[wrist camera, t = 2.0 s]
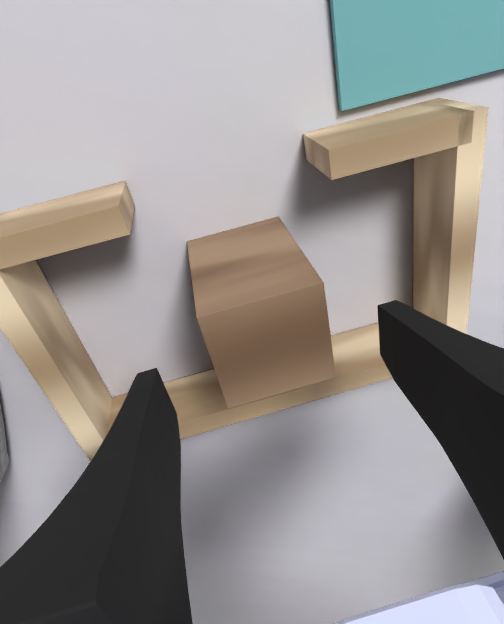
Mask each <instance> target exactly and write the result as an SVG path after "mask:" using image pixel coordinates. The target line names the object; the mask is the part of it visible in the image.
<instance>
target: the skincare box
mask: <svg viewBox="0 0 504 624" xmlns="http://www.w3.org/2000/svg"><path fill="white" fill-rule="evenodd" d="M8 462H9V457H8V454H7V446H6V438H5V430H4V423H3V416H2V410H1V404H0V483H1V481H2V479H3V477H4V475H5V473H6V471H7V469H8Z"/></svg>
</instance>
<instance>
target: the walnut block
mask: <svg viewBox="0 0 504 624" xmlns="http://www.w3.org/2000/svg"><path fill="white" fill-rule="evenodd" d="M187 246H188V254H189V262H190V270H191V278H192V286H193V294H194V301H195V309H196V317H197V321H198V323H199V326H200V329H201V332H202V335H203V338H204V341H205V344H206V346H207V349H208V352H209V355H210V358H211V361H212V364H213V367H214V369H215V372H216V375H217V378H218V381H219V384H220V387H221V390H222V392H223V395H224V398H225V401H226V404H227V407H228V408H231V407H235V406H238V405H242V404H245V403H249V402H252V401H255V400H259V399H262V398H266V397H269V396H273V395H276V394H280V393H283V392H287V391H290V390H294V389H297V388H301V387H304V386H308V385H311V384H315V383H318V382H322V381H325V380H329V379H332V378H335V377H336V373H335V366H334V358H333V351H332V343H331V336H330V328H329V320H328V313H327V305H326V298H325V290H324V283H323V281H322V280H321V278H320V277H319V275H318V274H317V272H316V271H315V269H314V268H313V267H312V265H311V264H310V262H309V261H308V259H307V258H306V256H305V255H304V253H303V252H302V250H301V249H300V247H299V246H298V244H297V243H296V242H295V240H294V239H293V237H292V236H291V234H290V233H289V231H288V230H287V228H286V227H285V225H284V224H283V222H282V221H281V220H280V218H279V217H275V218H271V219H267V220H264V221H260V222H256V223H253V224H249V225H245V226H242V227H238V228H234V229H231V230H227V231H223V232H220V233H216V234H212V235H209V236H205V237H201V238H198V239H194V240H190V241H187Z"/></svg>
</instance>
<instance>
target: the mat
mask: <svg viewBox="0 0 504 624" xmlns="http://www.w3.org/2000/svg"><path fill="white" fill-rule="evenodd" d="M330 9H331V20H332V32H333V44H334V55H335V67H336V79H337V91H338V102H339V110H340V111H344V110H348V109H352V108H356V107H359V106H363V105H367V104H371V103H375V102H378V101H382V100H386V99H390V98H394V97H397V96H401V95H405V94H409V93H413V92H416V91H420V90H424V89H428V88H432V87H435V86H439V85H443V84H447V83H451V82H454V81H458V80H462V79H466V78H469V77H473V76H477V75H481V74H485V73H488V72H492V71H496V70H500V69H504V0H330Z"/></svg>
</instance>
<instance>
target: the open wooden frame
mask: <svg viewBox="0 0 504 624" xmlns="http://www.w3.org/2000/svg"><path fill="white" fill-rule="evenodd" d="M487 116H488V107H484V106H479V105H473V104H468V103H463V102H458V101H452V100H447V99H442V98H437V99H433V100H429V101H425V102H422V103H418V104H414V105H410V106H407V107H403V108H399V109H395V110H391V111H388V112H384V113H380V114H376V115H373V116H369V117H365V118H361V119H357V120H354V121H350V122H346V123H342V124H338V125H335V126H331V127H327V128H323V129H320V130H316V131H312V132H308V133H304V134H303V138H304V145H305V153H306V160H307V161H308V162H309V163H311V164H312V165H313V166H315V167H316V168H317V169H318V170H320V171H321V172H322V173H323V174H325V175H326V176H327V177H328V178H330V179H331V180H334V179H338V178H341V177H345V176H349V175H353V174H356V173H360V172H364V171H367V170H371V169H375V168H379V167H382V166H386V165H390V164H393V163H397V162H401V161H405V160H408V159H412V158H414V237H413V309H415V310H417V311H419V312H421V313H423V314H425V315H427V316H429V317H431V318H433V319H435V320H437V321H439V322H441V323H443V324H445V325H447V326H449V327H452V328H454V329H456V330H458V331H460V332H463V333H465V334H467V324H468V314H469V303H470V293H471V283H472V272H473V262H474V251H475V241H476V231H477V220H478V210H479V199H480V189H481V179H482V168H483V158H484V148H485V137H486V127H487ZM134 209H135V205H134V202H133V199H132V197H131V194H130V191H129V189H128V186H127V183H126V181H123V182H119V183H116V184H112V185H108V186H104V187H100V188H97V189H93V190H89V191H85V192H82V193H78V194H74V195H70V196H66V197H63V198H59V199H55V200H51V201H48V202H44V203H40V204H36V205H32V206H29V207H25V208H21V209H17V210H13V211H10V212H6V213H2V214H0V328H1V330H2V331H3V333H4V334H5V336H6V337H7V338H8V340H9V341H10V343H11V344H12V346H13V347H14V349H15V350H16V352H17V353H18V355H19V356H20V358H21V359H22V361H23V362H24V364H25V365H26V366H27V368H28V369H29V371H30V372H31V374H32V375H33V377H34V378H35V380H36V381H37V383H38V384H39V386H40V387H41V389H42V390H43V392H44V393H45V394H46V396H47V397H48V399H49V400H50V402H51V403H52V405H53V406H54V408H55V409H56V411H57V412H58V414H59V415H60V417H61V418H62V420H63V421H64V422H65V424H66V425H67V427H68V428H69V430H70V431H71V433H72V434H73V436H74V437H75V439H76V440H77V442H78V443H79V445H80V446H81V448H82V449H83V450H84V452H85V453H86V455H87V456H88V458H89V459H90V461H91V460H92V459H93V457H94V456H95V454H96V452H97V451H98V449H99V447H100V445H101V444H102V442H103V440H104V439H105V437H106V435H107V433H108V432H109V430H110V428H111V426H112V424H113V422H114V420H115V418H116V416H117V414H118V413H119V411H120V409H121V407H122V405H123V402H124V400H125V398H126V396H127V394H128V393H127V394H124V395H120V396H116V397H113V398H112V396H111V395H110V393H109V391H108V389H107V388H106V386H105V384H104V382H103V380H102V379H101V377H100V375H99V373H98V371H97V370H96V368H95V366H94V364H93V362H92V361H91V359H90V357H89V355H88V353H87V352H86V350H85V348H84V346H83V344H82V343H81V341H80V339H79V337H78V335H77V334H76V332H75V330H74V328H73V327H72V325H71V323H70V321H69V319H68V318H67V316H66V314H65V312H64V310H63V309H62V307H61V305H60V303H59V301H58V300H57V298H56V296H55V294H54V292H53V291H52V289H51V287H50V285H49V283H48V282H47V280H46V278H45V276H44V274H43V273H42V271H41V269H40V267H39V266H38V264H37V262H36V260H37V259H41V258H44V257H48V256H52V255H55V254H59V253H63V252H67V251H70V250H74V249H78V248H81V247H85V246H89V245H93V244H96V243H100V242H104V241H107V240H111V239H115V238H119V237H122V236H126V235H130V232H131V226H132V220H133V215H134ZM331 343H332V351H333V358H334V366H335V373H336V377H335V378H332V379H329V380H325V381H322V382H318V383H315V384H311V385H308V386H304V387H301V388H297V389H294V390H290V391H287V392H283V393H280V394H276V395H273V396H269V397H266V398H262V399H259V400H255V401H252V402H249V403H245V404H242V405H238V406H235V407H231V408H228V407H227V404H226V401H225V398H224V395H223V392H222V390H221V387H220V384H219V381H218V378H217V375H216V372H215V369H212V370H208V371H205V372H201V373H198V374H194V375H191V376H187V377H184V378H180V379H177V380H173V381H170V382H166V383H164V386H165V388H166V390H167V392H168V394H169V397H170V399H171V401H172V403H173V406H174V408H175V410H176V412H177V418H178V426H179V434H180V439H183V438H186V437H190V436H193V435H197V434H200V433H203V432H207V431H210V430H214V429H217V428H221V427H224V426H228V425H231V424H235V423H238V422H242V421H245V420H249V419H252V418H256V417H259V416H263V415H266V414H270V413H273V412H276V411H280V410H283V409H287V408H290V407H294V406H297V405H301V404H304V403H308V402H311V401H315V400H318V399H322V398H325V397H329V396H332V395H336V394H339V393H343V392H346V391H350V390H353V389H356V388H360V387H363V386H367V385H370V384H374V383H377V382H381V381H384V380H388V379H391V378H393V377H392V376H391V374H390V372H389V370H388V368H387V367H386V365H385V363H384V361H383V359H382V357H381V355H380V344H379V324H378V323H375V324H371V325H368V326H364V327H361V328H357V329H354V330H350V331H347V332H343V333H339V334H336V335H332V336H331Z"/></svg>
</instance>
